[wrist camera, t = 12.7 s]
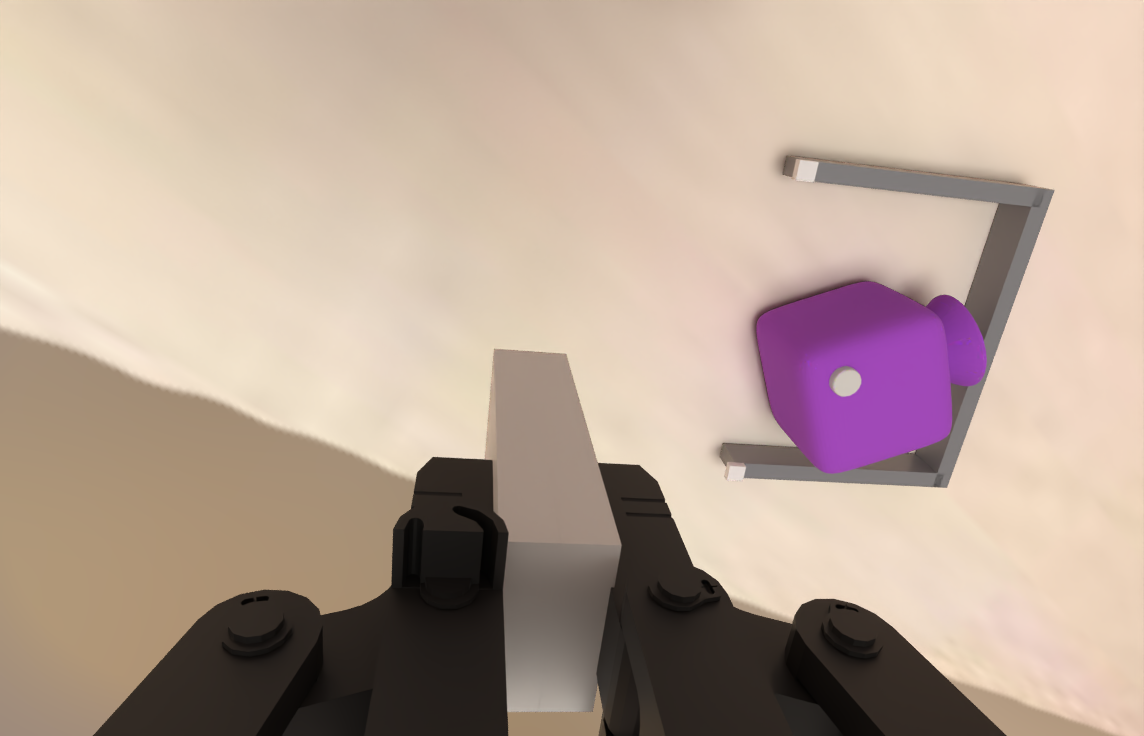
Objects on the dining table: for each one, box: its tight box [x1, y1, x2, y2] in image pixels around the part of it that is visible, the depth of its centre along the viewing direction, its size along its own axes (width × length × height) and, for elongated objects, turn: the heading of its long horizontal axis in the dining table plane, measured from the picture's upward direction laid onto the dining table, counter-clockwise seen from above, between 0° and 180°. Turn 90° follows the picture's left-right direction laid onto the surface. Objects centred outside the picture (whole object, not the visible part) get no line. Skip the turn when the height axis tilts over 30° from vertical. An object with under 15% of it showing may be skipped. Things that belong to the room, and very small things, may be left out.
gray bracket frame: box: [720, 156, 1054, 488], centre depth 50 cm, size 22×18×4 cm
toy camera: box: [757, 281, 987, 474], centre depth 47 cm, size 11×14×10 cm
